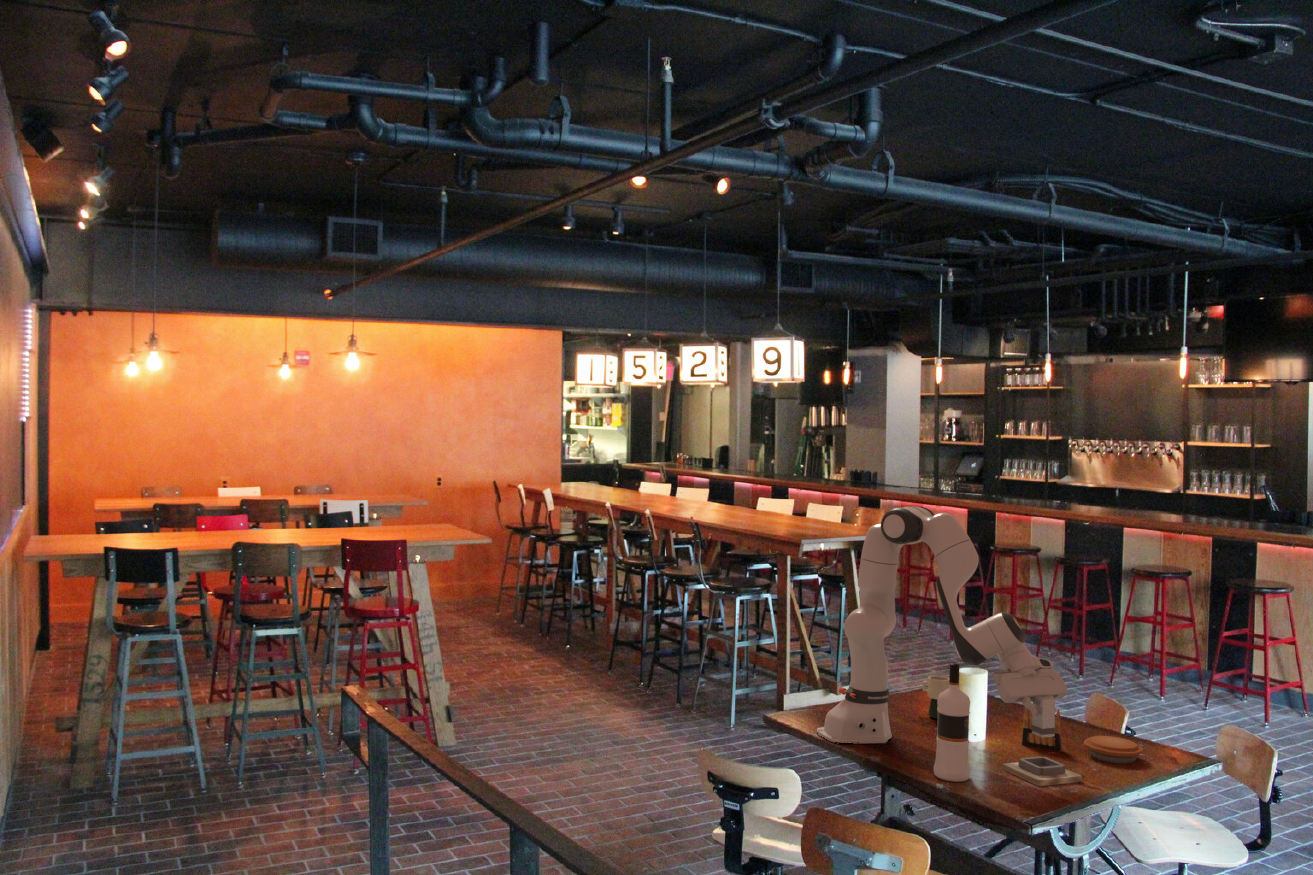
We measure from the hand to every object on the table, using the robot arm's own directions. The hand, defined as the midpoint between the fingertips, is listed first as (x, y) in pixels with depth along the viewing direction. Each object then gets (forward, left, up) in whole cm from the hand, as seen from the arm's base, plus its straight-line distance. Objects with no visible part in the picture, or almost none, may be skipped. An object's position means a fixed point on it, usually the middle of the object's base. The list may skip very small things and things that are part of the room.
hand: (1045, 713), depth 267 cm
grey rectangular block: (0, +1, -6) cm, 6 cm away
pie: (+32, +9, -17) cm, 37 cm away
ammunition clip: (+18, +22, -17) cm, 33 cm away
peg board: (0, +1, -17) cm, 17 cm away
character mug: (+7, +57, -17) cm, 60 cm away
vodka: (-25, +6, -17) cm, 31 cm away
